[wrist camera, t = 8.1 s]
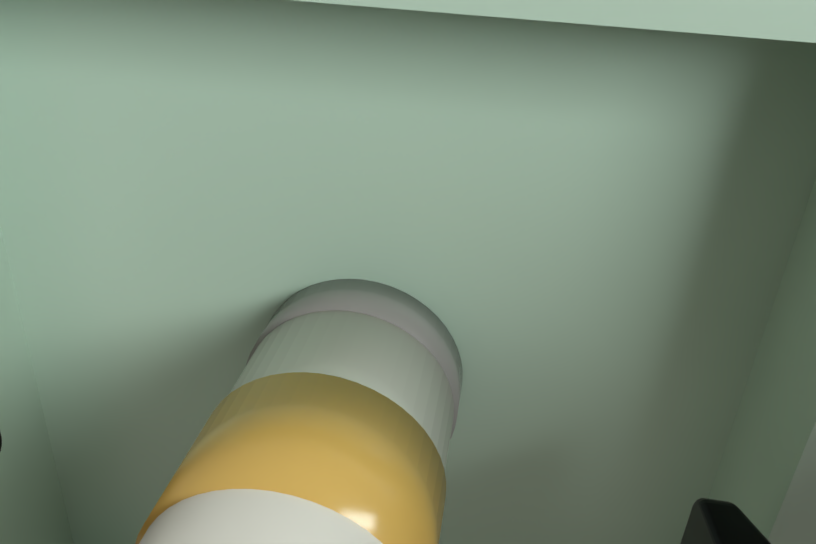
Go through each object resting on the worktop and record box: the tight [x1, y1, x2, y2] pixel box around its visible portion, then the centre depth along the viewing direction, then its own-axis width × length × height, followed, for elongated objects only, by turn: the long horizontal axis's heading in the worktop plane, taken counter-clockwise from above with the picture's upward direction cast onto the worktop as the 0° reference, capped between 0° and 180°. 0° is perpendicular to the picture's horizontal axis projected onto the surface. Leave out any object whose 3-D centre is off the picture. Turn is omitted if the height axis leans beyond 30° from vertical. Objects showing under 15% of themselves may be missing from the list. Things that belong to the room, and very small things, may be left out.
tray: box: [0, 0, 816, 544], centre depth 11 cm, size 13×13×3 cm
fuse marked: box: [135, 279, 463, 544], centre depth 9 cm, size 3×3×6 cm
